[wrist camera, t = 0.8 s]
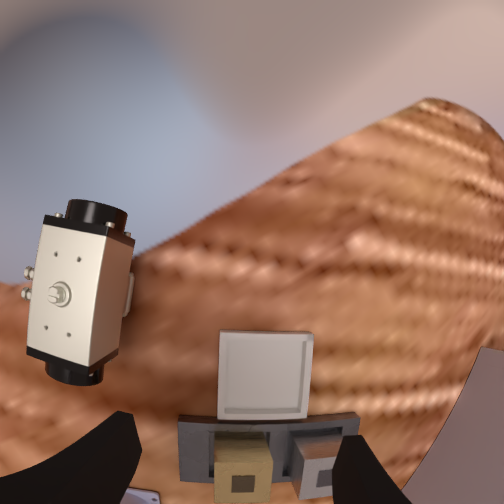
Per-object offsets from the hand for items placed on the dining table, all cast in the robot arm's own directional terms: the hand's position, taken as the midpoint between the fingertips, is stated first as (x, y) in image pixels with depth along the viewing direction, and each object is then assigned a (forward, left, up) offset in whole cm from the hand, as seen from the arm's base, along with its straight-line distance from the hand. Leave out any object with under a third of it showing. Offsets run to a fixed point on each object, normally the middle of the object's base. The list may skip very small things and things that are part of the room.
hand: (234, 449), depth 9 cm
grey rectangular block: (-10, -9, -18) cm, 22 cm away
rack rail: (-10, -5, -18) cm, 22 cm away
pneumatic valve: (+4, +10, -19) cm, 22 cm away
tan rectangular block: (-10, -2, -18) cm, 21 cm away
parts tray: (-2, -4, -18) cm, 19 cm away
